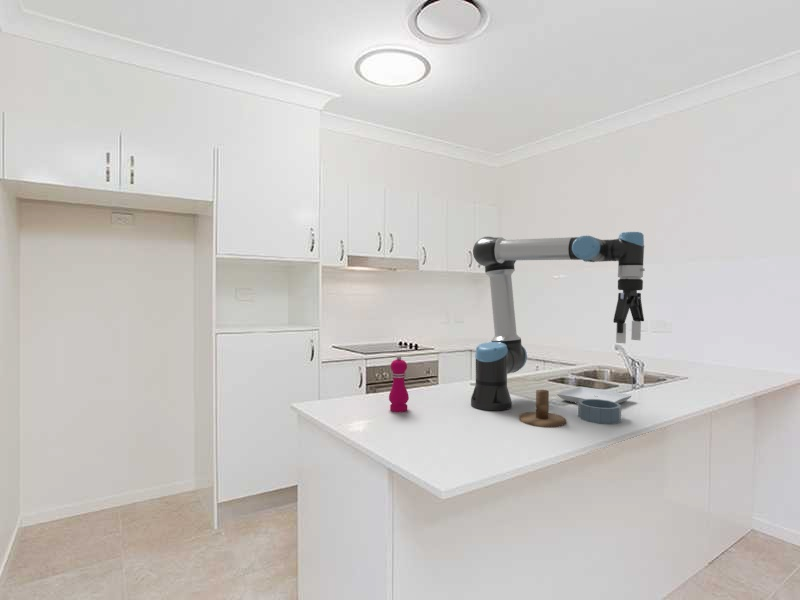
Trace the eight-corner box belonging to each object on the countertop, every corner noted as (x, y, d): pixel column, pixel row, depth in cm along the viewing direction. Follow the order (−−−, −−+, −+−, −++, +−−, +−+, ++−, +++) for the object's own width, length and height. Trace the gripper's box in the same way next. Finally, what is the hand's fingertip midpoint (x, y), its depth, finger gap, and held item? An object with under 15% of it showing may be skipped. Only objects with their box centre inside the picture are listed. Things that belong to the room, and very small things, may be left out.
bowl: (574, 419, 154) (574, 404, 153) (584, 411, 164) (584, 397, 164) (616, 426, 146) (616, 410, 146) (623, 417, 157) (623, 402, 157)
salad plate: (632, 402, 178) (632, 394, 178) (610, 412, 164) (610, 403, 164) (580, 393, 194) (580, 385, 194) (555, 402, 179) (555, 393, 179)
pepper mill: (396, 406, 171) (396, 353, 170) (412, 409, 167) (412, 354, 166) (384, 410, 165) (384, 355, 165) (401, 413, 161) (401, 357, 160)
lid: (512, 422, 151) (512, 392, 150) (528, 412, 163) (528, 384, 163) (558, 430, 142) (558, 398, 142) (571, 419, 154) (571, 389, 154)
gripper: (628, 277, 141) (626, 345, 142) (654, 279, 159) (653, 339, 159) (603, 277, 147) (602, 343, 148) (632, 279, 164) (630, 337, 165)
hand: (628, 341), depth 153 cm, fingers open, 13 cm apart
